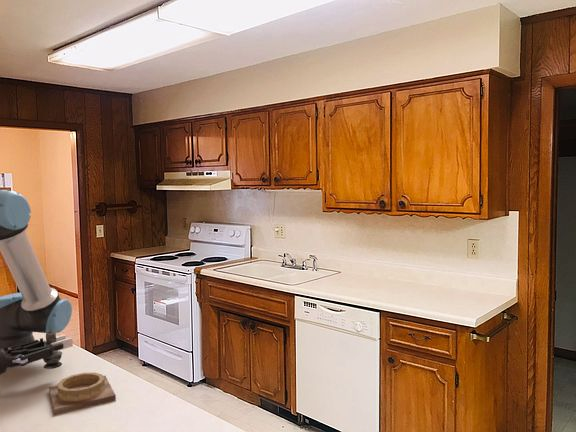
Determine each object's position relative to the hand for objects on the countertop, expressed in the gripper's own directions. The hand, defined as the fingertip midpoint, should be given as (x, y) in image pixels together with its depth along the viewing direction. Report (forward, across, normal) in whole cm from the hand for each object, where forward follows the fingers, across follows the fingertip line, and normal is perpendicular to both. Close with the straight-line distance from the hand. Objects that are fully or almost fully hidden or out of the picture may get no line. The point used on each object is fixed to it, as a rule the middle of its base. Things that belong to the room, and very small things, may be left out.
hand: (68, 340), depth 155 cm
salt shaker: (-5, 0, -7) cm, 9 cm away
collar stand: (-5, +17, -12) cm, 21 cm away
